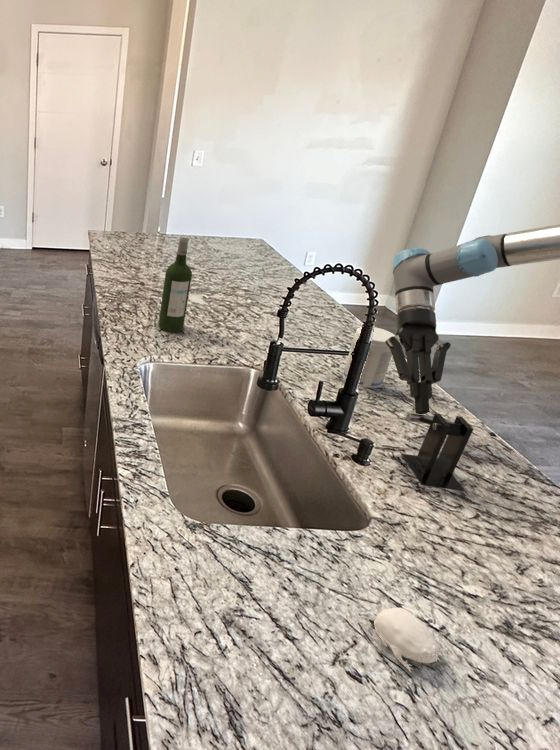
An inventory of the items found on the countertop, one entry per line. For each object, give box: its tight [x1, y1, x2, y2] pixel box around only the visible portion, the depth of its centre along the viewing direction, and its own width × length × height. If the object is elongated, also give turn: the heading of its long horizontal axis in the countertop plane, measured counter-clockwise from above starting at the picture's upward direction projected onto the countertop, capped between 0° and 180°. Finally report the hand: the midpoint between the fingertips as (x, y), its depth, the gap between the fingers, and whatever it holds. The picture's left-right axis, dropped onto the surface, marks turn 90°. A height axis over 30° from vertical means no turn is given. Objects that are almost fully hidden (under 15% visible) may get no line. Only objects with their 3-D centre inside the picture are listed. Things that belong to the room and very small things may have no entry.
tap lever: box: [405, 412, 461, 437], centre depth 112 cm, size 13×5×2 cm, turn 170°
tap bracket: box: [400, 413, 474, 492], centre depth 109 cm, size 10×8×14 cm
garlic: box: [373, 607, 442, 673], centre depth 77 cm, size 8×7×4 cm
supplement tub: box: [342, 326, 396, 389], centre depth 143 cm, size 10×10×15 cm
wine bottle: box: [158, 235, 193, 333], centre depth 167 cm, size 8×8×30 cm
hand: (422, 412), depth 117 cm, fingers closed
